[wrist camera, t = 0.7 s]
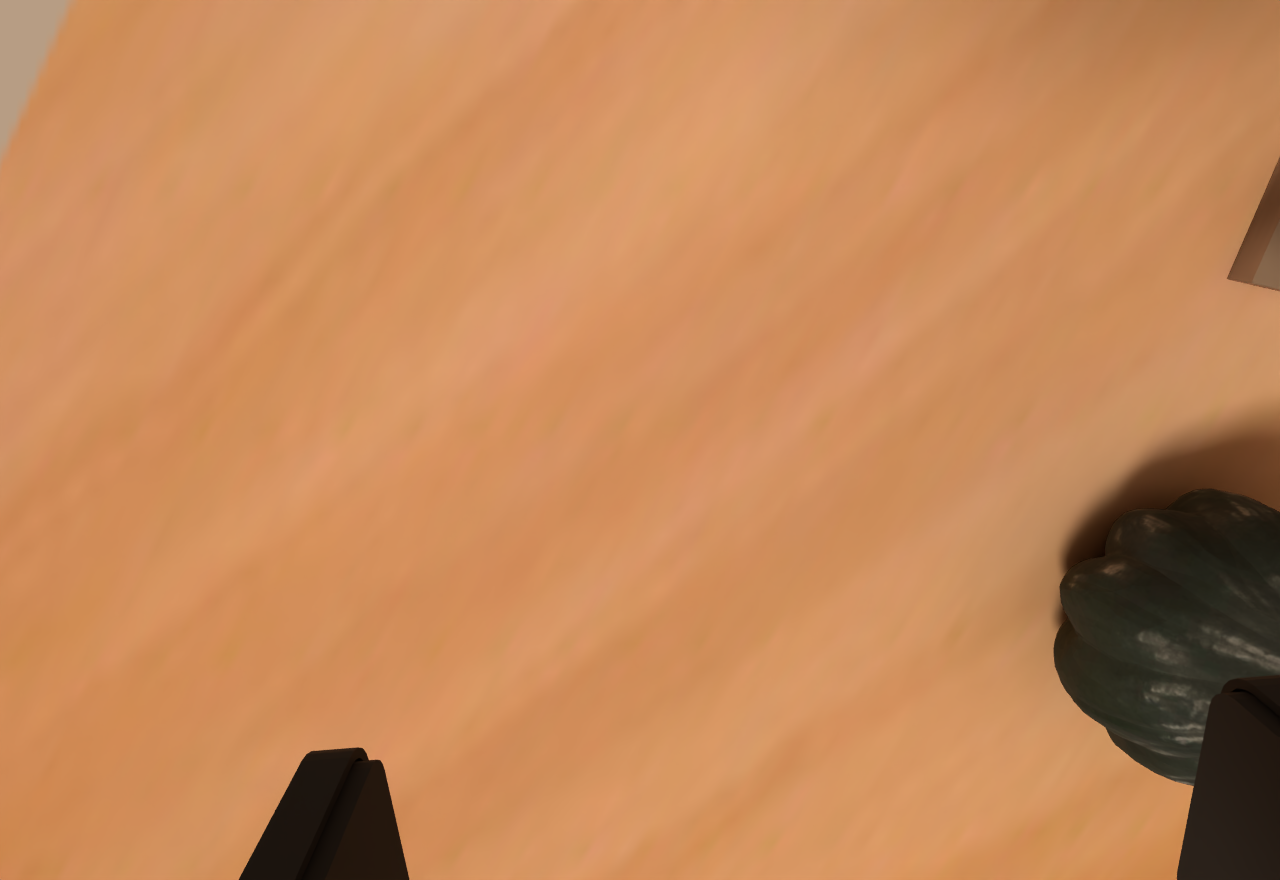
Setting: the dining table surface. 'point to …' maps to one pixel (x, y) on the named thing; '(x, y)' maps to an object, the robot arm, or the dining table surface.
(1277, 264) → the bottle rack
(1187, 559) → the squash
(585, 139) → the dining table surface
